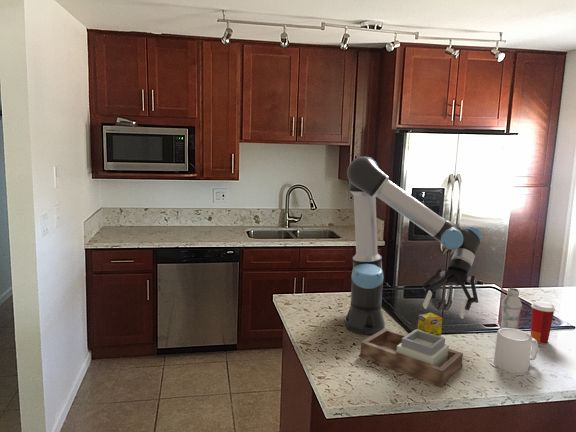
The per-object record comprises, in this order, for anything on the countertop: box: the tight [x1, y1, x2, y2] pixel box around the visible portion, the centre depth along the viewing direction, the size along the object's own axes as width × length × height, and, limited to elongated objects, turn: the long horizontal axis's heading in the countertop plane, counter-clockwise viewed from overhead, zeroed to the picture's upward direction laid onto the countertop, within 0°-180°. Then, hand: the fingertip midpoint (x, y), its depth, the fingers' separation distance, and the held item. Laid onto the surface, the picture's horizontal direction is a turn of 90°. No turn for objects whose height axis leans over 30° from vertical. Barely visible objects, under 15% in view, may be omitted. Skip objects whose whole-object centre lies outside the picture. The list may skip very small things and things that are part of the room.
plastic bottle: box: [499, 287, 523, 330], centre depth 167 cm, size 6×7×20 cm
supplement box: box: [417, 312, 443, 337], centre depth 164 cm, size 6×6×11 cm
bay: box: [359, 327, 464, 388], centre depth 152 cm, size 28×17×5 cm, turn 49°
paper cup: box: [530, 300, 556, 345], centre depth 170 cm, size 8×8×14 cm
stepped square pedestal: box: [397, 328, 450, 368], centre depth 149 cm, size 12×12×8 cm
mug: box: [493, 328, 539, 374], centre depth 151 cm, size 14×10×11 cm
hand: (442, 312), depth 167 cm, fingers open, 13 cm apart
